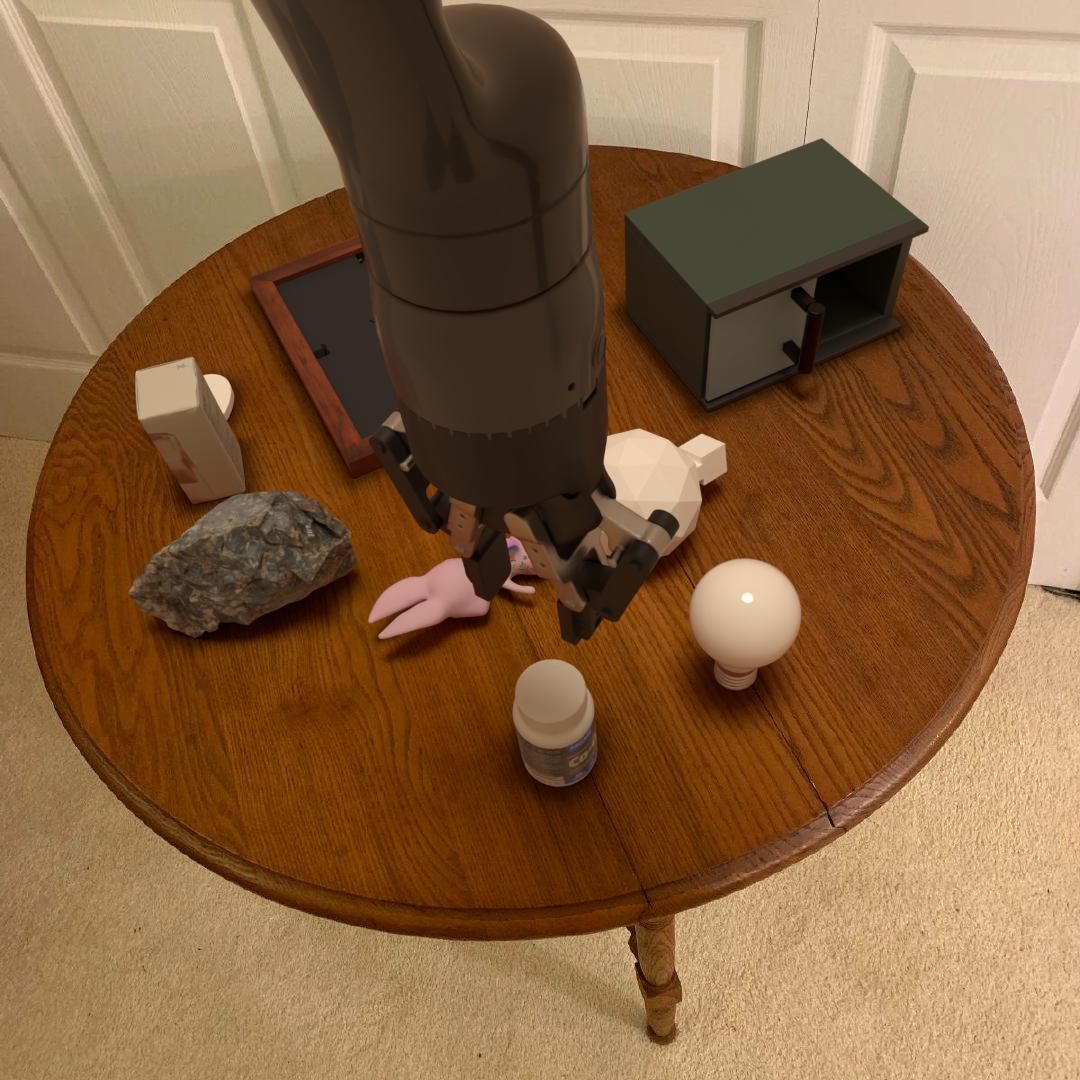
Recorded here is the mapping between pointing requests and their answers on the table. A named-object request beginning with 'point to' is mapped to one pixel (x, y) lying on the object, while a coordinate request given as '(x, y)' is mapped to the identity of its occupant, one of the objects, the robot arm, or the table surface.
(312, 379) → the picture frame
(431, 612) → the rabbit figure
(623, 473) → the perfume bottle
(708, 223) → the cabinet
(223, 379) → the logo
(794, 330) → the door
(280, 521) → the rock
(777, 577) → the lightbulb
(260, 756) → the table surface
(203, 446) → the cream cardboard box
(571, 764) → the pill bottle
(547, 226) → the robot arm
